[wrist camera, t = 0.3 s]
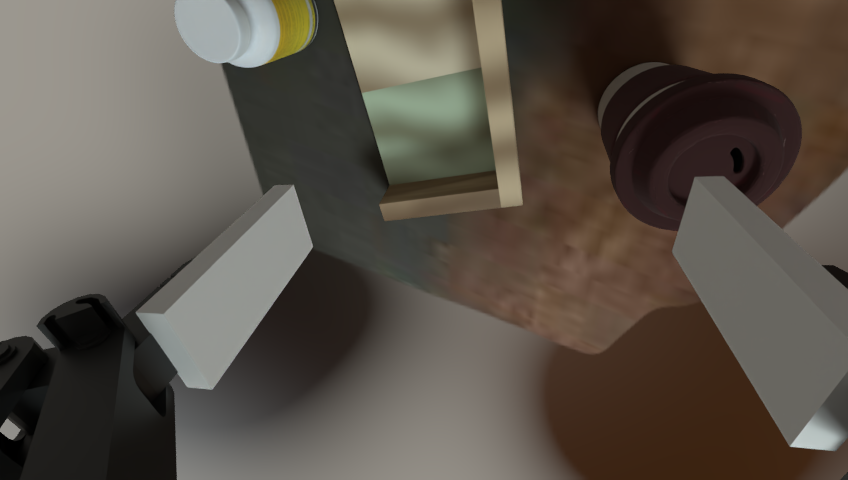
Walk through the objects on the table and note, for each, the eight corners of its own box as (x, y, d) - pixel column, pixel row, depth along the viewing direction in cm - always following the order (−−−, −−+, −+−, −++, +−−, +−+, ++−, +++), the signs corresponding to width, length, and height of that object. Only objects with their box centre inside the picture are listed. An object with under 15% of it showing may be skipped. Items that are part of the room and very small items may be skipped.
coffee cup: (567, 149, 38) (598, 232, 26) (602, 37, 32) (661, 74, 20) (673, 164, 37) (756, 256, 25) (727, 50, 31) (870, 97, 19)
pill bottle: (328, -9, 34) (260, -3, 24) (311, 63, 38) (246, 93, 28) (258, -46, 33) (161, -54, 24) (248, 32, 37) (159, 51, 27)
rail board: (323, -43, 33) (297, -46, 28) (491, -98, 29) (488, -110, 25) (395, 198, 44) (384, 221, 40) (520, 182, 41) (522, 205, 37)
